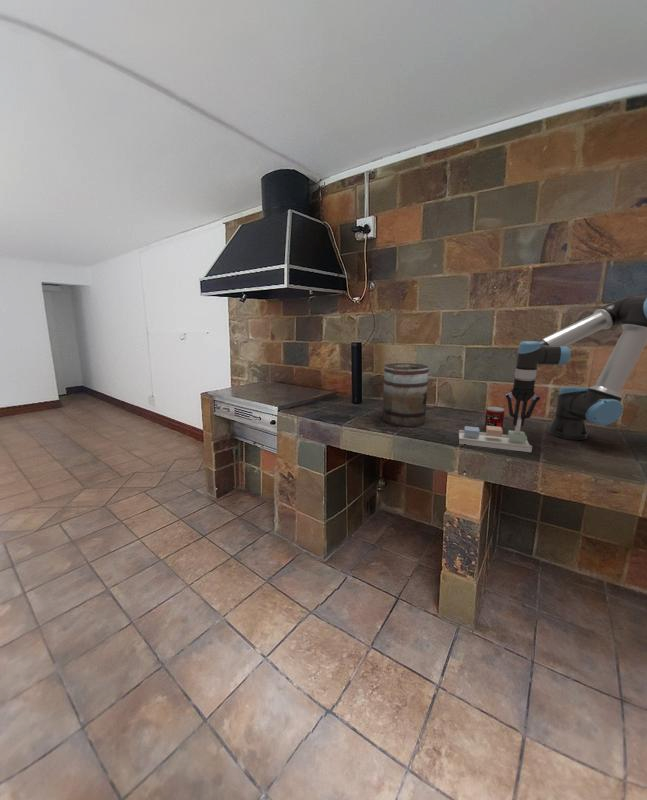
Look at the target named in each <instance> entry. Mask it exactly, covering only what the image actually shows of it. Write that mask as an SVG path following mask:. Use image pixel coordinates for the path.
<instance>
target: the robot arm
mask: <svg viewBox="0 0 647 800" xmlns="http://www.w3.org/2000/svg"><path fill="white" fill-rule="evenodd" d="M617 326H620V327H621V328H622V333H621V334H620V336H619V338H618V340H617V342H616V344H615V346H614V348H613V350H612V352H611V354H610V356H609V357H608V359H607V362H606V363H605V365H604V367H603V369H602V371H601V373H600V374H599V377H598V379H597V380H596V383H595V384H594V385H592V386H590V387H586V386H585V387H584V386H583V387H582V386H563V387H560V388H559V392H558V393H557V401H556V402H557V403H556V407H555V413H554V415H555V416H554V417H553V419H552V421H551V423H550V424H549V426H548V429H547V433H549V434H550V435H551V436H554V437H557V438H561V439H566V440H570V441H571V440H573V441H582V440H586V439H587V438H588V433H589V432H588V430H587V428H588V427H587V424H586V421H587V422H588V423H591V424H596V425H598V426H608V425H610V424H613V423H615V422H617V421H618V420H619V419H620V418H621V416H622V415H623V412H624V408H623V406H624V405H623V404H622V402H621V401H622V399H623V396H622V394H621V391H622V390H623V387H624V386H625V384H626V382H627V380H628V378H629V377H630V374H631V373H632V371H633V369H634V368H635V366H636V363H637V362H638V360H639V358H640V356H641V354H642V352H643V350H644V348H645V346H646V345H647V295H646V294H645V295H631V296H627V297H623V298H619V299H616V300H614V301H612V302H610V303H608V304H605V305H603V306H602V307H599V308H597V309H596V310H594V311H593V313H592V314H591V315H588V316H587V317H584V318H581V319H580V320H578V321H576V322H574V323H571V324H570V325H568V326H566V327H564V328H562V329H560V330H558V331H554V332H553V333H552V334H550V335H547V336H545V337H543V338H541V339H539V340H537V341H534V340H533V341H532V340H524V341H523V340H522V341H521V342H519V346H518V349H517V350H518V351H517V358H516V364H515V366H516V367H515V372H514V379H513V386H512V389H511V391H510V392H509V393H505V394H504V396H505V398H506V400H507V401H506V402H507V407H508V414H509V416H510V417H511V418H513V420H512V421H513V422H512V425H513V426H514V431H515V433H516V434H520V432H521V427H524V425H525V420H526V419H530V418H531V415H532V414H533V411H534V410H535V407H536V405H537V403H538V402H539V401H540V400H541V397H540V396H539V395H537V394H535V393H536V392H535V385H536V384H535V383H536V377H537V372H538V371H537V370H538V367H539V366H541V365H544V366H545V365H546V366H549V365H552V366H553V365H554V366H559V365H560V366H562V365H566V364H567V363H569V361H570V359H571V355H572V352H571V349H570V348H569V347H568V346H570V345H571V344H573V343H576V342H578V341H579V340H582V339H584V338H586V337H588V336H591V335H592V334H595V333H596V332H599V331H602V330H608V329H610V328H613V327H617ZM512 398H514V400H515V405H514V406H515V407H514V411H513V404H512ZM530 399H532V400H531V402H530V404H529V407H528V401H529V400H530ZM521 402H522V405H521ZM520 405H521V411H520ZM527 407H528V409H527ZM519 411H520V417H519Z"/></svg>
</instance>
